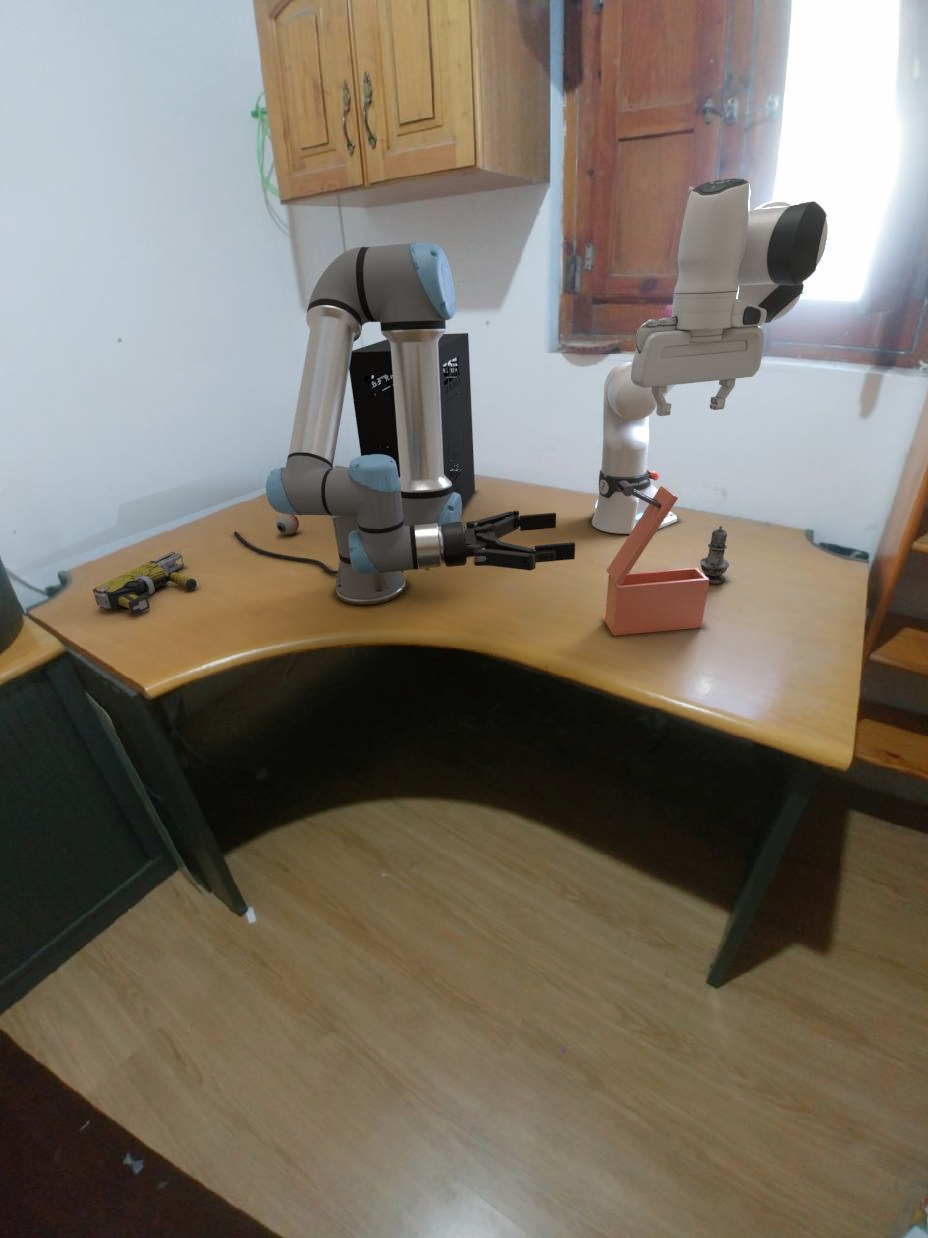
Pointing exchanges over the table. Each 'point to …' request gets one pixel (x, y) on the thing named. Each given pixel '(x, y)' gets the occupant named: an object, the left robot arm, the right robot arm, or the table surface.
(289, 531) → the eyeball
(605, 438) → the right robot arm
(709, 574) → the salt shaker
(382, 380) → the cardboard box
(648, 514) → the lid
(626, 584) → the chest
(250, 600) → the table surface
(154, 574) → the toy gun
